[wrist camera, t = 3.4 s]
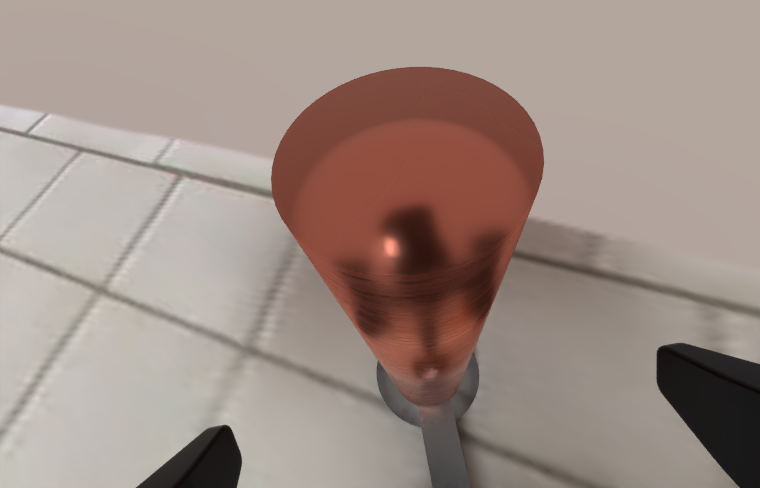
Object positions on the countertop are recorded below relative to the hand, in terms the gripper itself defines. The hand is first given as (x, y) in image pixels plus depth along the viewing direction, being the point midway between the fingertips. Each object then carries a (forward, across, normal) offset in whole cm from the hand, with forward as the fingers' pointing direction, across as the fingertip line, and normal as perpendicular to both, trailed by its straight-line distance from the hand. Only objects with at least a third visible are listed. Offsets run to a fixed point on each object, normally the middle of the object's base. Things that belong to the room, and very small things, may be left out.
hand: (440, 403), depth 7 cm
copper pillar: (+4, 0, +11) cm, 11 cm away
